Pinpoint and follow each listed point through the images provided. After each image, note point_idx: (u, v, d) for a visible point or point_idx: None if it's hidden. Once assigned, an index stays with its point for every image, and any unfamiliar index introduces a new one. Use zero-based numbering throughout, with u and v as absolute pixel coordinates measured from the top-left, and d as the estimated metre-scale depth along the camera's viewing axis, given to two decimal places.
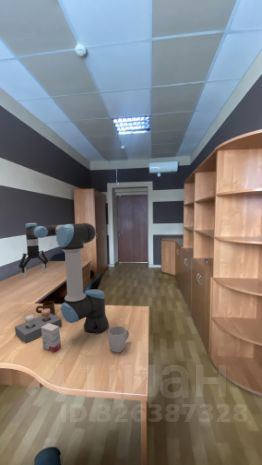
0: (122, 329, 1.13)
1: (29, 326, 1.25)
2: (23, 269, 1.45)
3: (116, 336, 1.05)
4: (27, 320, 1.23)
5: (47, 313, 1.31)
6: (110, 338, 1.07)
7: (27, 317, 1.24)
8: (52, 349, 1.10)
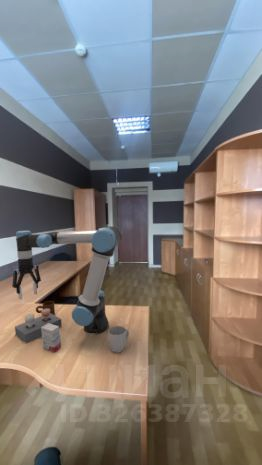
0: (122, 329, 1.13)
1: (29, 326, 1.25)
2: (18, 289, 1.20)
3: (116, 336, 1.05)
4: (27, 320, 1.23)
5: (47, 313, 1.31)
6: (110, 338, 1.07)
7: (27, 317, 1.24)
8: (52, 349, 1.10)
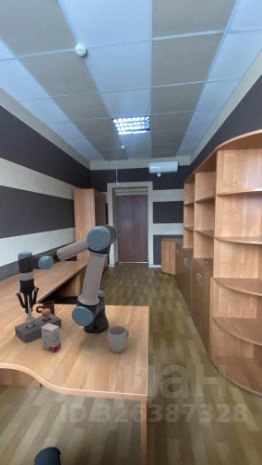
0: (122, 329, 1.13)
1: None
2: (27, 309, 1.24)
3: (116, 336, 1.05)
4: (27, 322, 1.23)
5: (47, 313, 1.31)
6: (110, 338, 1.07)
7: (27, 319, 1.24)
8: (52, 349, 1.10)
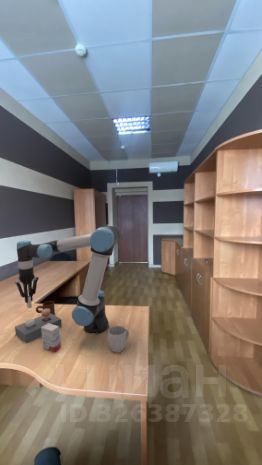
0: (122, 329, 1.13)
1: None
2: (26, 298, 1.23)
3: (116, 336, 1.05)
4: (27, 325, 1.24)
5: (47, 313, 1.31)
6: (110, 338, 1.07)
7: (27, 322, 1.24)
8: (52, 349, 1.10)
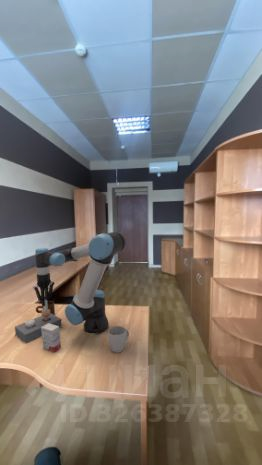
0: (122, 329, 1.13)
1: None
2: (43, 302, 1.31)
3: (116, 336, 1.05)
4: (27, 325, 1.24)
5: (47, 314, 1.31)
6: (110, 338, 1.07)
7: (27, 322, 1.24)
8: (52, 349, 1.10)
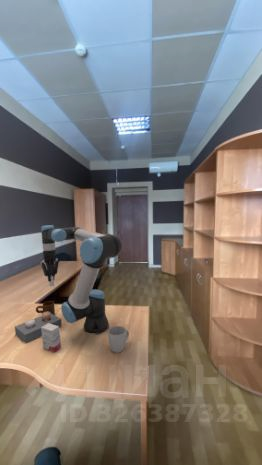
0: (122, 329, 1.13)
1: None
2: (49, 277, 1.36)
3: (116, 336, 1.05)
4: (27, 325, 1.24)
5: (47, 316, 1.32)
6: (110, 338, 1.07)
7: (27, 322, 1.24)
8: (52, 349, 1.10)
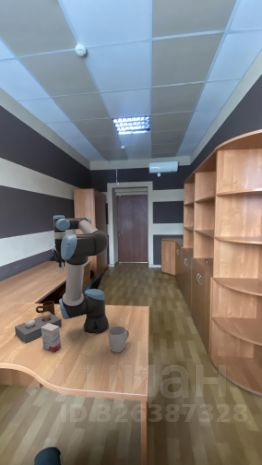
0: (122, 329, 1.13)
1: None
2: (60, 264, 1.47)
3: (116, 336, 1.05)
4: (27, 325, 1.24)
5: (47, 316, 1.32)
6: (110, 338, 1.07)
7: (27, 322, 1.24)
8: (52, 349, 1.10)
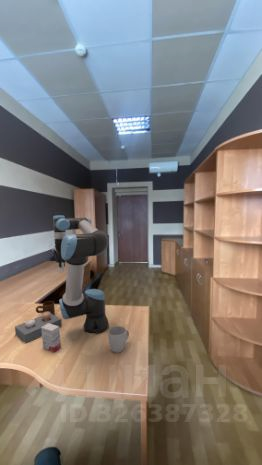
0: (122, 329, 1.13)
1: None
2: (60, 264, 1.47)
3: (116, 336, 1.05)
4: (27, 325, 1.24)
5: (47, 316, 1.32)
6: (110, 338, 1.07)
7: (27, 322, 1.24)
8: (52, 349, 1.10)
